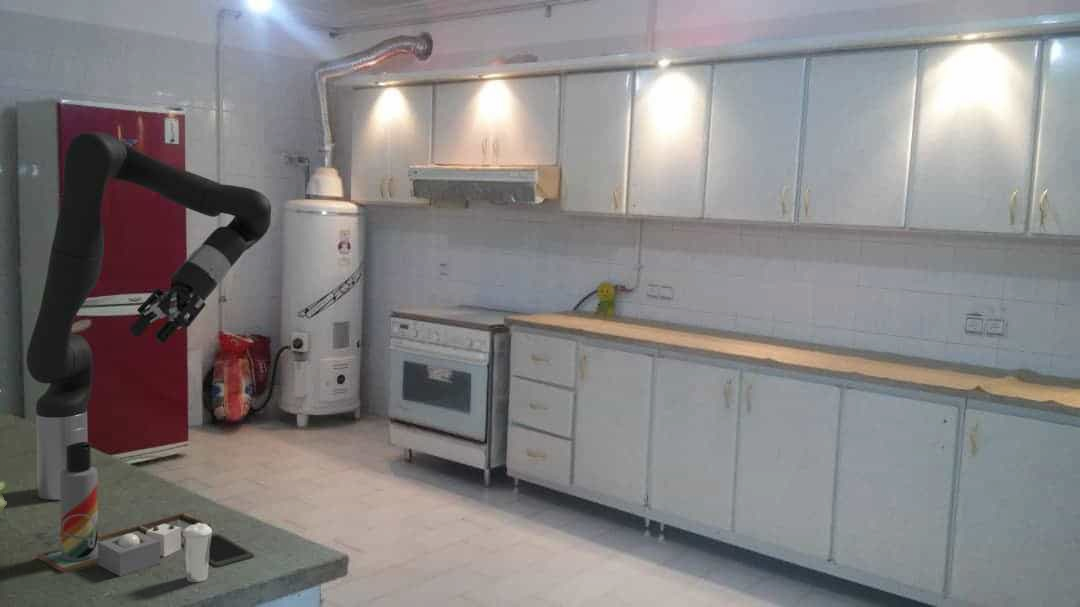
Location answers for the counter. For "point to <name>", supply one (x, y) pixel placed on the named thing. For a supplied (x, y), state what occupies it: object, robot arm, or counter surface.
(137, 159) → the robot arm
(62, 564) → the track
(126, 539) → the dome
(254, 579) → the counter surface
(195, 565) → the milkshake
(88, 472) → the lotion bottle
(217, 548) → the cell phone
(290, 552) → the counter surface
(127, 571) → the button box
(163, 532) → the die
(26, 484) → the counter surface
